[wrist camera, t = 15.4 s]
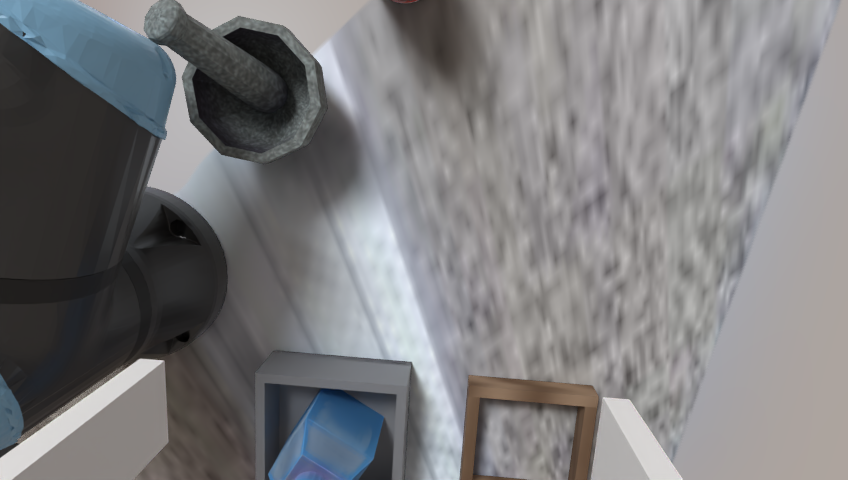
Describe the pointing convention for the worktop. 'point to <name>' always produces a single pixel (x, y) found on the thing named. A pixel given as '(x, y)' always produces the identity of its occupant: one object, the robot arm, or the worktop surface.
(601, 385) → the worktop surface
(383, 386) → the bin
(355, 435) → the perfume bottle
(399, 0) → the pill bottle
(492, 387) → the holder
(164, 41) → the mortar and pestle
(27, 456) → the robot arm
